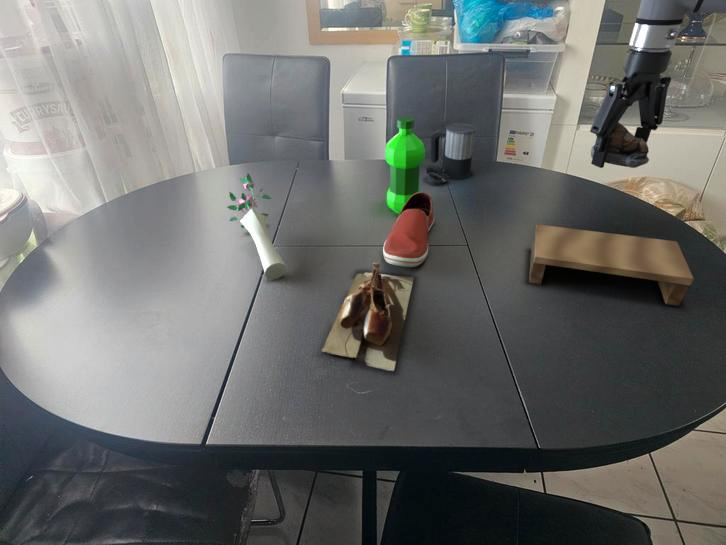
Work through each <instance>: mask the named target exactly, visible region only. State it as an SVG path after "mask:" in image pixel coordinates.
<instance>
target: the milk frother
mask: <svg viewBox="0 0 726 545" xmlns="http://www.w3.org/2000/svg"><path fill="white" fill-rule="evenodd" d="M476 132H477V127H476V126H475V125H473V124H470V123H469V124H468V123H462V122H461V123H451V124H448V125H446V126H445V128H439V129H437V130H436V131H434V132H433V133H432V135H431V138H430V162H431V163H432V164H433V163H435V164H436V163H437V162H438V161H439V157H440V156H439V155H440V154H439V153H440V137H441V138H444V143H443V144H444V145H443V155H442V157H443V158H442V170H438V169H436V168H432V167H427V168H425V170H424V173H425V175H426V177H427V179H429V180H430V181H432V182H433V183H436V185H444V184H446V183H448V179H449V178H450V179H465V178H469V177H470V176H471V175H472V171H471V170H472V158H473V151H474V144H475V136H476Z"/></svg>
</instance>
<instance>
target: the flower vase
mask: <svg viewBox="0 0 726 545" xmlns="http://www.w3.org/2000/svg"><path fill="white" fill-rule="evenodd" d="M238 179H239V180H240V181H241V183H242V185H241V186H242V187H243V189H244V190H246V191H249V192H250V191H251V193H252V195H253V196H252V195H251V196H250V194H245V193H244V192H241V194H240V197H239V199H238V200H237V197H236V196H235V194H234V193H233V192H231V191H228V196H229V198H230V200H231V201H232V202H236V203H237V205H236V204H232V205H231V204H230V205H227V206H226V208H227V209H228V210H231V211H237V212H240V211H241V212H242V213H243V212H244V213H245V215H244V216H243V217H242V218H241V219H240V218H238V217H237V216H232V217H230V218H228V220H227V222H233V221H238V220H239V222H240V223H241V224H240V228H241V229H244V228H245V229H246V230H247V232H248V233H249V235H250V236H251V238H252V239H253V242H254V244H255V246H256V250H257V253H258V256H259V259H260V262H261V265H262V269H263V272H264V276H265V277H266V278H267V279H269V280H277V279H281V277H282V276H284V275H285V273H286V271H287V267H286V264H285V263H284V261H283V259H282V258H281V256H280V255H279V253H278V252H277V250H276V248H275V246H274V244H273V243H272V240H271V239H270V237H269V234H268V230H267V229H268V228H267V222H266V221H267V220H266V217H267V216H269V213H265V212H264V213H260V212H259V211H257V210H255V209H254V208H258V204H257V203H258V202H257V201H255V200H256V197H255V193H254V191H253V189H254V188H255V183H254V181H253V180H252V177H251V175H250V173H249V172H247V173H246V177H245V178H243V177H240V178H238ZM263 190H264V188H260V189H259V191H258V195H257V197H259V198H261V199H265V200H271V199H272V198H271V197H270V195H268V194H262V196H260V195H261V193H260V192H262V191H263Z"/></svg>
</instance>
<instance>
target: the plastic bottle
mask: <svg viewBox="0 0 726 545" xmlns="http://www.w3.org/2000/svg"><path fill="white" fill-rule="evenodd" d="M396 128H397V129H398V133H397V134H396V135H395V134H394V136H393V137H392V138H390V140H388V141H387V142H386V145H385V148H384V150H385V151H384V152H385V155H384V156H385V161H386V163H387V164H388V165H389V188H388V189H387V192H386V205H387V207H388V208H389V209H391V210H392V211H394V212H395V213H396V214H398V215H400V212H401V210H402V208H403V206H404V205H405V204H406V202H407V201H408V199H409V198H410V197H411V196H412V195H414V194H416V193H419V192H421V190H420V188H419V187H420V166H421V164H422V163H424V161H425V158H426V149H425V144H424V142H423V140H421V139H420V138H419V137H418V136H417V135H416V134H414V133H413V132H412V130H413V128H415V118H414V117H411V116H401V117H398V118H397V119H396Z"/></svg>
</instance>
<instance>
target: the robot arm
mask: <svg viewBox="0 0 726 545" xmlns="http://www.w3.org/2000/svg"><path fill="white" fill-rule="evenodd" d="M687 13H690V14H697V13H702V14H703V13H705V14H707V13H708V14H726V0H641V1H640V4H639V8H638V12H637V15H636V19H635V22H634V25H633V29H632V32H631V35H630V39H629V43H628V45H629V46H630V48H629V49H628V50H627V51H626V54H625V58H624V60H623V61H624V62H623V65H622V69H623V70H624V76H623V78H622V79H621V81H618V82H614V81H610V82H609V83H608V84H607V89H606V93H605V96H604V99H603V100H602V103H601V105H600V108H599V109H598V111H597V114H596V116H595V117H594V121H593V122H592V125H591V127H590V129H589V132H590V133H592V134H595V135H596V134H597V136H596V139H595V142H594V145H595V146H594V145H593V146H594V150H595V151H594V155H593V158H592V159H591V162H590V163H591V165H593V166H595V167H597V168H599V169H603V168H604V166H605V164H606V163H605V160H606V157H607V153H608V150H609V146H610V143H611V139H612V137H610V136H609V135H610V134H611V132H612V131H613V129H614V128H615V126H616V125H617V123H618V122H619V123H620V121H621V119H622V117H623V116H624V114H625V113H626V111H627V110H628V108H629V107H632V105H634V103H635V102H637V101H638V110H639V120H640V126H637V127H636V129H635V133H634V134H633V136H634V137H636V138H641V139H643V140H644V141H645V142H646V143H647V144H648V142H649V138H650V135H651V132H652V131H657V129H658V128H659V126H661V125H662V124H663V120H664V115H665V114H664V113H665V108H666V102H667V101H666V100H667V95H668V89H669V87H670V84H671V82H672V77H671V76H668V75H663V73H665V72H666V71H667V70H668V67H669V64H670V60H671V58H672V56H673V52H672V50H671V49H672V48H675V44H676V42H677V38H678V36H679V32H680V29H681V26H682V24H683V22H684V18H685V16H686V14H687ZM605 129H606V131H605Z"/></svg>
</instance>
